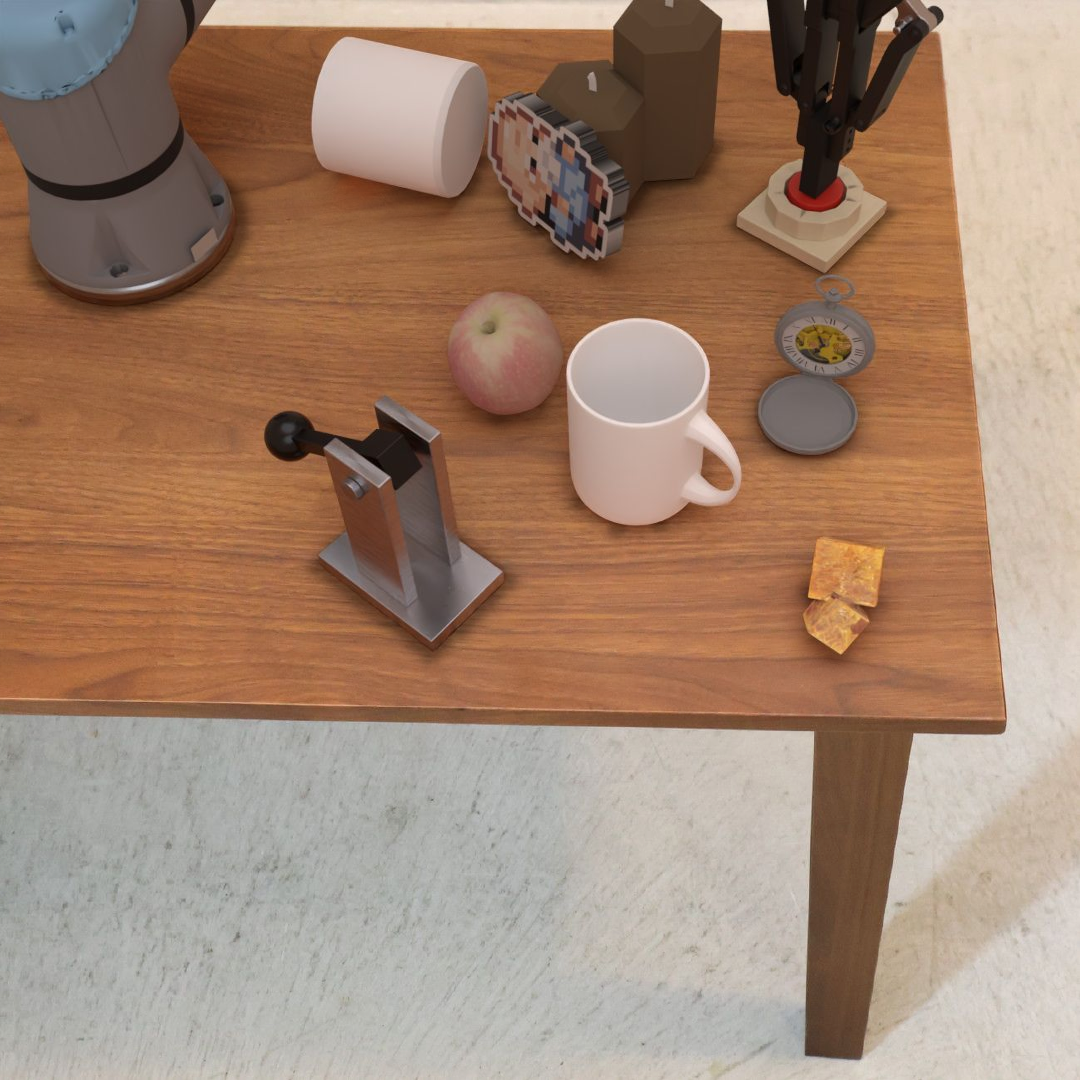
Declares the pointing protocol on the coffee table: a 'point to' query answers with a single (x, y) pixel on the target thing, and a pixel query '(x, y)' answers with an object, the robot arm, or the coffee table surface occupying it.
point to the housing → (811, 219)
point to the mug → (642, 423)
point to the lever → (385, 449)
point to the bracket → (405, 535)
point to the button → (821, 203)
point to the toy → (558, 175)
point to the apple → (505, 353)
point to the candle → (648, 90)
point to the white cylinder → (400, 116)
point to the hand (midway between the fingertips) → (817, 184)
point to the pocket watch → (816, 374)
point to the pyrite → (842, 589)
